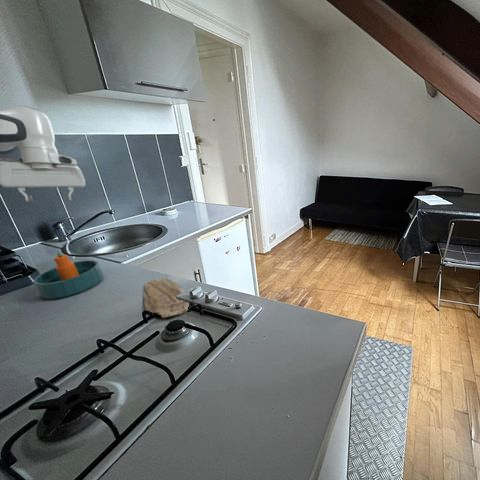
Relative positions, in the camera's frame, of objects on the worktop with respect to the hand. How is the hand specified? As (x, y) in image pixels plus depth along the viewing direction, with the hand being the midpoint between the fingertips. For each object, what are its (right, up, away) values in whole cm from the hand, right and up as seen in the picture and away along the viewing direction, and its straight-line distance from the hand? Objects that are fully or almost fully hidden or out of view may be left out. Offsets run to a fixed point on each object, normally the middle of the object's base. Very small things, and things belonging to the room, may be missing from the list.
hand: (49, 200), depth 90 cm
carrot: (+14, -28, -6) cm, 32 cm away
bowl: (+14, -28, -6) cm, 32 cm away
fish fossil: (+48, -30, -14) cm, 59 cm away
